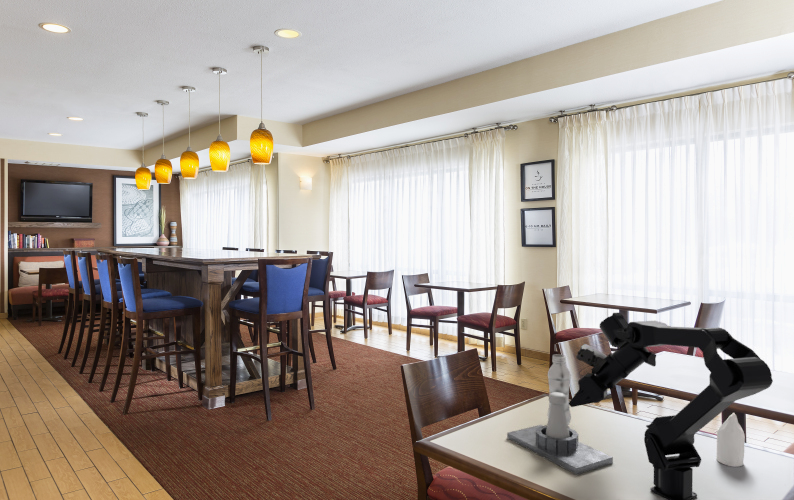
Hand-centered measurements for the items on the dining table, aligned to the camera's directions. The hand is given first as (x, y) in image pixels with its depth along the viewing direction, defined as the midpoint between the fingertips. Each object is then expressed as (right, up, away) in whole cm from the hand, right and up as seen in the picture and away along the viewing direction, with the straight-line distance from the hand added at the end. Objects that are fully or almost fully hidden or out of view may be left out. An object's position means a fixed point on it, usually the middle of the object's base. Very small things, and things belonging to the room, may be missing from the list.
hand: (575, 400), depth 127 cm
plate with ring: (-4, -14, +3) cm, 14 cm away
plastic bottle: (+2, -13, +20) cm, 24 cm away
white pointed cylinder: (+35, -14, -5) cm, 38 cm away
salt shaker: (-4, -12, +3) cm, 13 cm away
